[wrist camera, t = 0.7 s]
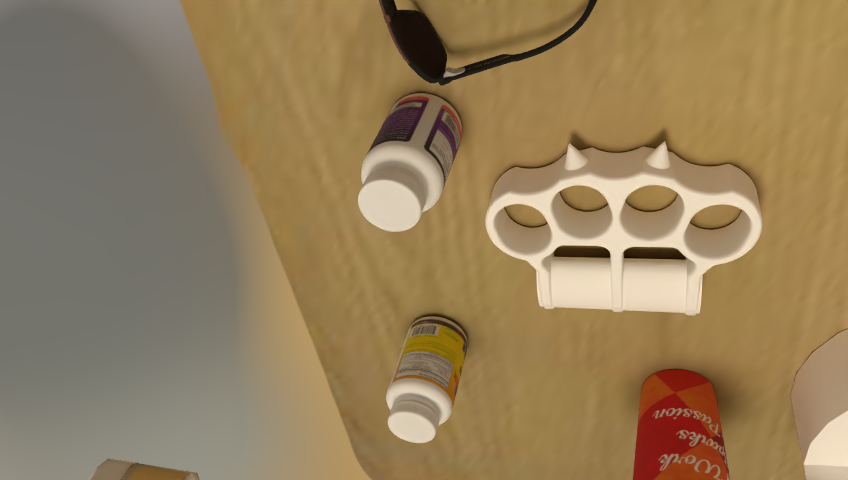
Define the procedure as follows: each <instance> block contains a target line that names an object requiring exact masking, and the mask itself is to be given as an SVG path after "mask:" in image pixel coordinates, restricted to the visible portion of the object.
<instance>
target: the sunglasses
mask: <svg viewBox="0 0 848 480" xmlns="http://www.w3.org/2000/svg"><path fill="white" fill-rule="evenodd" d="M379 2H380V6H381V8H382V11H383V14H384V19H385V21H386V23H387V26H388V28H389V31H390V34H391V36H392V39H393V41H394V43H395V45H396V47H397V49H398V50H399V52H400V54H401V55H402V57H403V58H404V60H405V61H406V62H407V63H408V65H409V66H410V67H411V68H412V69H413V70H414V71H415V72H416V73H417V74H418V75H419V76H420V77H422V78H423V79H424V80H426V81H427V82H429V83H437V82H439V84H440V85H441V86H442V85H445V84H448V83H450V82H451V81H452V80H456V79H459V78H462V77H465V76H468V75H472V74H475V73H478V72H481V71H484V70H487V69H491V68H494V67H497V66H500V65H503V64H506V63H510V62H514V61H519V60H523V59H526V58H529V57H532V56H535V55H537V54H540V53H542V52H544V51H547V50H549V49H551V48H552V47H554V46H556V45H558V44H559V43H561V42H562V41H564V40H565V39H567V38H568V37H570V36H571V35H572V34H573V33H575V32H576V31H577V30H578V29H579V28H580V27H581V26H582V25H583V24H584V22H585V21H586V20H587V18H588V17H589V15H590V13H591V11H592V10H593V8H594V6H595V4H596V2H597V0H590V1H589V4H588V6H587V8H586V10H585V12H584V13H583V15H582V17H581V18H580V19H579V20H578V22H577V23H576V24H575V25H574V26H573V27H572V28H570V29H569V30H568V31H567V32H565V33H564V34H562V35H561V36H559V37H558V38H556V39H554V40H553V41H551V42H549V43H547V44H545V45H543V46H541V47H538V48H536V49H533V50H530V51H527V52H524V53H521V54H516V55H509V54H503V55H499V56H495V57H492V58H489V59H486V60H483V61H480V62H476V63H473V64H470V65H467V66H464V67H461V68H458V69H453V68H449V67H448V68H446V62H447V55H446V51H445V49H444V47H443V45H442V43H441V41H440V39H439V38H438V36H437V34H436V32H435V31H434V29H433V27H432V25H431V24H430V22H429V21H428V19H427V18H426V17H425V15H423V14H422V13H421V12H419V11H416V10H397V8H396V5H395V2H394V0H379ZM445 69H446V71H445Z"/></svg>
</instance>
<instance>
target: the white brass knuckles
mask: <svg viewBox="0 0 848 480" xmlns="http://www.w3.org/2000/svg"><path fill="white" fill-rule="evenodd" d="M575 185H583V186H588V187H591V188H594V189H596V190H598V191H599V192H600V193H602V194H603V195H604V197H605V198H606V200H607V202H608V205H607V206H605V207H604V208H602V209H600V210H597V211H593V212H583V211H578V210H575V209H573V208H571V207H570V206H568V205H567V204H566V203H565V202H564V201H563V199H562V197H561V195H560V193H559V191H561V190H562V189H564V188H567V187H570V186H575ZM647 185H662V186H666V187H669V188H671V189H673V190H674V191H676V192H677V193H678V196H677V198H676V200H675V201H674V202H673V203H672V204H671V205H670V206H669V207H667V208H665V209H663V210H660V211H656V212H643V211H639V210H636V209H634V208H632V207H630V206H629V205H628V204H627V203H626V202H625V200H626V198H627V197H628V196H629V194H630V193H632V192H633V191H634V190H636V189H638V188H640V187H643V186H647ZM512 204H524V205H528V206H531V207H534V208H535V209H537V210H539V211H540V212H541V213H542V214H543V215H544V217H545V218H546V220H547V222H548V224H546V225H544V226H541V227H536V228H530V227H524V226H521V225H519V224H517V223H515V222H514V221H513V220H511V219H510V217H509V216H508V215H507V213H506V211H505V209H504V207H506V206H508V205H512ZM718 204H726V205H732V206H735V207H738V208H740V209H742V211H741V213H740V215H739V217H738V218H737V219H736V220H735V221H734V222H733V223H732V224H730V225H728V226H726V227H723V228H720V229H714V230H707V229H701V228H698V227H695V226H693V225H692V224H690V220H691V219H692V217H693V216H694V215H695V214H696V213H697V212H698V211H700V210H701V209H703V208H706V207H708V206H712V205H718ZM485 223H486V229H487V232H488V235H489V237H490V238H491V240H492V241H493V242H494V244H495V245H496V246H497V247H498V248H499V249H501V250H502V251H503V252H505V253H507V254H508V255H510V256H513V257H515V258H518V259H522V260H526V261H528V262H529V263H530V264H531V265H532V266H533V267H534V268H535V269H536V270H537V293H538V301H539V305H540V306H544V308H545V309H553V308H554V307H566V308H588V309H610V310H613V311H614V312H622V311H623V310H632V311H655V312H678V313H685V314H686V315H695V314H696V313H699V312H700V306H701V295H702V275H703V274H704V273H705V272H706V271H707V270H708V269H709V268H711V267H712V266H714V265H718V264H723V263H727V262H730V261H733V260H735V259H737V258H739V257H741V256H742V255H744V254H745V253H747V252H748V251H749V250H750V249H751V248H752V247H753V246H754V245H755V243H756V242H757V240H758V239H759V236H760V234H761V230H762V216H761V211H760V205H759V200H758V195H757V190H756V187H755V185H754V183H753V181H752V180H751V179H750V177H749V176H748V175H747V174H746V173H745V172H743V171H742V170H741V169H739V168H737V167H735V166H733V165H730V164H725V165H720V166H699V165H694V164H691V163H688V162H686V161H684V160H682V159H680V158H679V157H678V156H676V155H675V154H674V153H673V152H669V151H667V146H666V142H665V141H664V142H663V143H662V144H661V145H659V146H658V147H657V148H656V149H654V148H649V147H644V146H643V147H641V148H638V149H636V150H633V151H629V152H623V153H610V152H604V151H600V150H598V149H595V148H593V147H592V148H588V149H584V150H580V151H579V150H577V149H576V148H575V147H574V146H572V145H571V144H570V143H569V145H568V150H567V154H564V155H563V156H562V157H561V158H560V159H559V160H558V161H556V162H555V163H553V164H551V165H548V166H546V167H542V168H535V169H527V168H520V167H514V168H512V169H510V170H508V171H507V172H505V173H504V174H503V175H502V176H501V177H500V178H499V179H498V180H497V182H496V184H495V186H494V188H493V191H492V195H491V198H490V202H489V205H488V209H487V212H486V218H485ZM562 245H575V246H602V247H605V248H606V249H608V250H609V251H610V258H586V257H554V251H555V250H556V248H557V247H559V246H562ZM630 247H673V248H676V249H678V250H679V251H680V252H681V253H682V254H683V255H684V256H685V257H686V259H685V260H678V259H633V258H624V251H625V250H626V249H627V248H630Z"/></svg>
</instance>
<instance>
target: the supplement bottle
mask: <svg viewBox="0 0 848 480" xmlns="http://www.w3.org/2000/svg"><path fill="white" fill-rule="evenodd" d="M467 346H468V342H467V338H466V335H465V333H464V332H463V330H462V329H461V328H460V327H459V326H458V325H457V324H455V323H454V322H452V321H450V320H448V319H445V318H442V317H435V316H429V317H423V318H420V319H418V320H416V321H415V322H414V323H413V324H412V325H411V326H410V328H409V330H408V332H407V335H406V338H405V341H404V344H403V347H402V350H401V352H400V355H399V358H398V361H397V364H396V367H395V370H394V373H393V376H392V378H391V381H390V384H389V387H388V390H387V394H386V401H387V404H388V407H389V409H390V415H389V418H388V426H389V428H390V430H391V431H392V432H393V433H394V434H395V435H396V436H398V437H400V438H401V439H403V440H406V441H409V442H414V443H424V442H428V441H430V440H432V439H433V438H434V436H435V434H436V431H437V428H438V426H439V425H440V424H442V423H444V422H445V421H446V420H447V419H448V418H449V416H450V414H451V411H452V408H453V404H454V400H455V396H456V392H457V388H458V384H459V380H460V376H461V372H462V368H463V364H464V360H465V356H466V351H467Z"/></svg>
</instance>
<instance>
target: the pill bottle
mask: <svg viewBox="0 0 848 480" xmlns="http://www.w3.org/2000/svg"><path fill="white" fill-rule="evenodd" d="M461 137H462V125H461V121H460V118H459V116H458V114H457V112H456V111H455V109H454V108H453V107H452V106H451V105H450V104H449V103H447V102H446V101H445V100H443V99H441V98H439V97H437V96H434V95H431V94H426V93H416V94H411V95H408V96H405V97H403V98H402V99H400V100H399V101H398V102H397V103H396V104H395V105H394V106H393V108H392V109H391V111H390V112H389V114H388V116H387V118H386V120H385V122H384V124H383V125H382V127H381V129H380V131H379V133H378V135H377V137H376V138H375V140H374V142H373V144H372V146H371V148H370V150H369V151H368V153H367V155H366V157H365V159H364V162H363V165H362V169H361V178H362V183H363V186H362V188H361V190H360V193H359V196H358V204H359V208H360V210H361V212H362V214H363V215H364V217H365V218H366V219H367V220H368V221H369V222H370V223H372V224H373V225H375V226H377V227H378V228H381V229H383V230H387V231H393V232H399V231H405V230H407V229H410V228H411V227H413V226H414V225H415V224H416V223H417V222H418V220H419V218H420V216H421V214H422V212H424V211H426V210H428V209H430V208H431V207H432V206H433V205H434V204H435V203H436V202H437V201H438V199H439V198H440V195H441V193H442V191H443V188H444V186H445V183H446V180H447V177H448V175H449V172H450V169H451V166H452V164H453V161H454V158H455V155H456V153H457V150H458V147H459V144H460V141H461Z"/></svg>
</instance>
